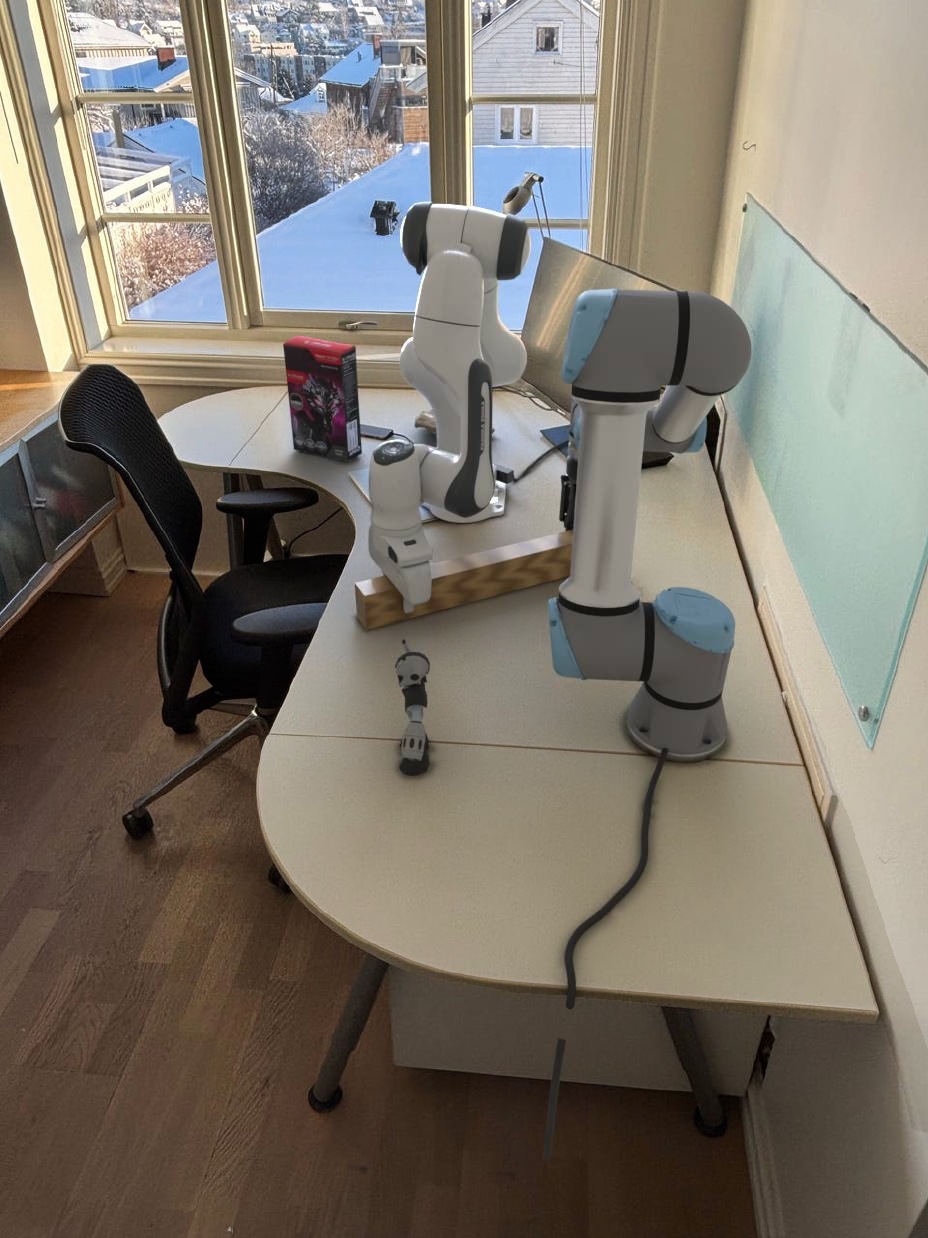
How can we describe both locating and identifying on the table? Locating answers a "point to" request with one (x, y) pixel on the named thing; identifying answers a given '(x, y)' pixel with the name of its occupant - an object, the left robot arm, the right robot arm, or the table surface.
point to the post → (470, 579)
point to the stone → (429, 422)
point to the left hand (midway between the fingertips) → (399, 600)
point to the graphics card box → (323, 397)
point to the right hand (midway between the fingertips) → (577, 563)
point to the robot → (413, 710)
